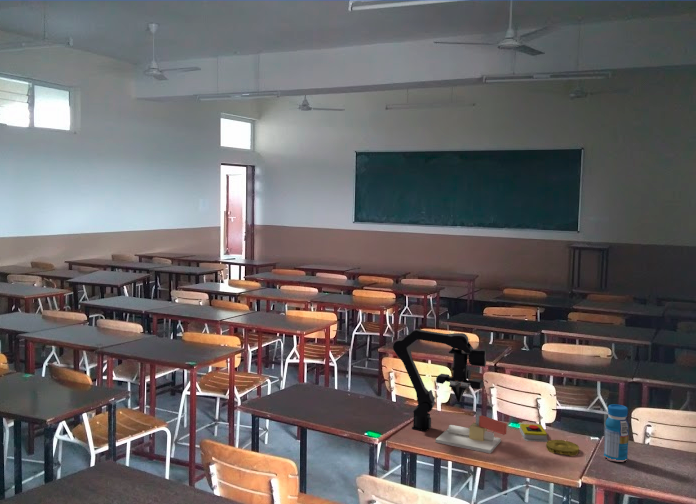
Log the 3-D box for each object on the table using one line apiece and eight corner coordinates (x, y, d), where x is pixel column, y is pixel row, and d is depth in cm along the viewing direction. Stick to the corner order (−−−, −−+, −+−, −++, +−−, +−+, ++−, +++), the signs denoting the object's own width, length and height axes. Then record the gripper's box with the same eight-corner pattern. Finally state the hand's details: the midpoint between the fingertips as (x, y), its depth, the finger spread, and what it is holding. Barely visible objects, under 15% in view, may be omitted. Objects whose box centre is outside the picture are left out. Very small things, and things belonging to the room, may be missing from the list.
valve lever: (474, 424, 250) (474, 414, 250) (478, 423, 252) (478, 413, 251) (503, 434, 239) (503, 424, 239) (506, 433, 240) (507, 423, 240)
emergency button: (525, 431, 252) (518, 419, 267) (524, 441, 252) (518, 429, 267) (548, 432, 251) (540, 420, 266) (548, 443, 251) (540, 430, 266)
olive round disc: (547, 443, 250) (547, 437, 250) (579, 447, 246) (579, 442, 246) (545, 453, 239) (545, 448, 239) (578, 458, 235) (578, 453, 235)
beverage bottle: (603, 461, 232) (605, 408, 231) (603, 453, 240) (605, 402, 239) (628, 465, 229) (630, 411, 228) (627, 457, 237) (629, 405, 236)
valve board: (435, 442, 248) (435, 426, 248) (448, 431, 261) (448, 416, 261) (490, 453, 237) (490, 437, 237) (500, 441, 251) (501, 426, 250)
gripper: (488, 363, 260) (486, 400, 261) (445, 357, 269) (444, 393, 270) (480, 369, 251) (478, 407, 252) (436, 363, 260) (435, 400, 261)
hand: (459, 401), depth 259 cm, fingers closed
